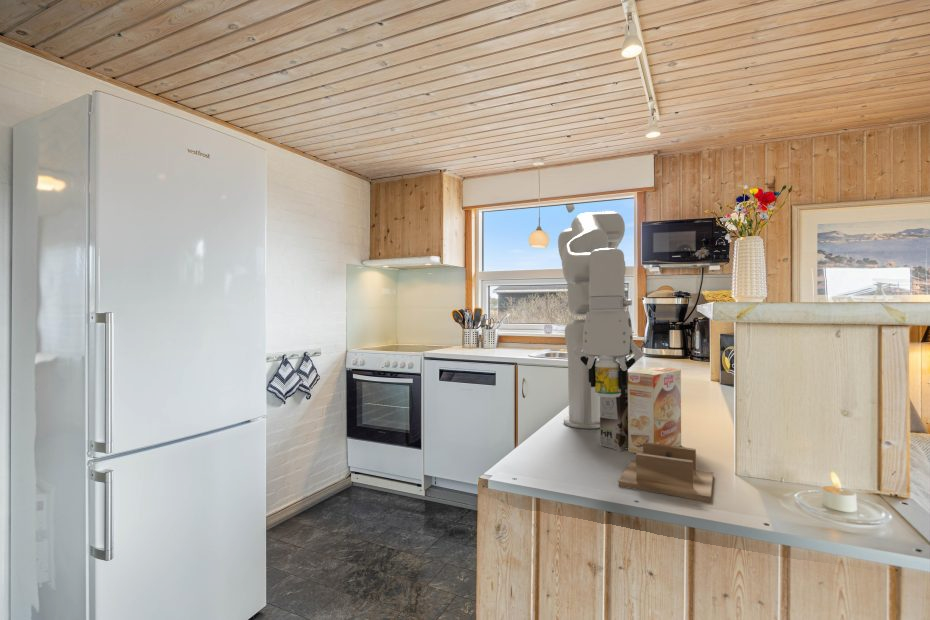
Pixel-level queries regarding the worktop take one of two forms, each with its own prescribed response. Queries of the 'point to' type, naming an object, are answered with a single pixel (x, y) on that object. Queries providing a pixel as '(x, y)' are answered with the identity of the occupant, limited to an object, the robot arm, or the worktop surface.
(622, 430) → the coffee box
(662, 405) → the coffeecake box
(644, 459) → the holder
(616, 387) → the supplement bottle
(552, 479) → the worktop surface
